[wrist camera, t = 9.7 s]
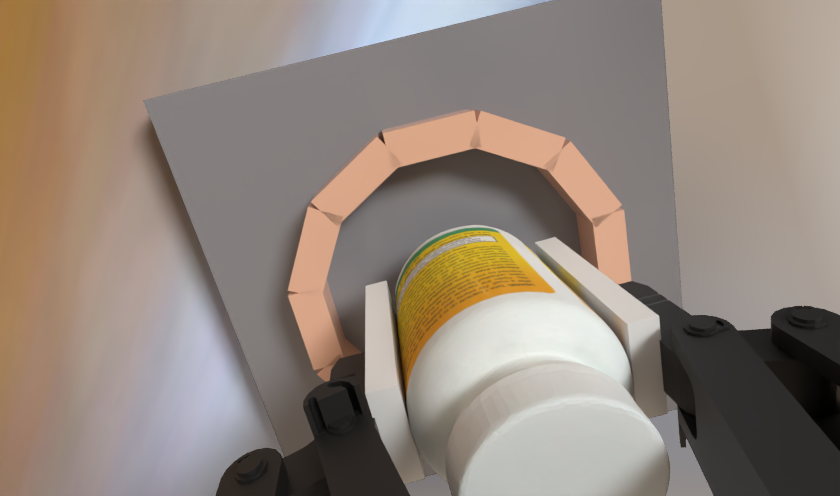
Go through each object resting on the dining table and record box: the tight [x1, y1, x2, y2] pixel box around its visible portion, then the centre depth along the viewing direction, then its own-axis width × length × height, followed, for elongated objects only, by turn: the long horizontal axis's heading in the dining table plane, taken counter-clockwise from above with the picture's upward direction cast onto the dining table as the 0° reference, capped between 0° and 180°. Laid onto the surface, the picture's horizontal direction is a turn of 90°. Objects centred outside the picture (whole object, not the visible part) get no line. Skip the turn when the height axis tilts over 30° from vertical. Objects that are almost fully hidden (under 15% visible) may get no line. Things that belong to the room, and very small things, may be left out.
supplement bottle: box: [395, 225, 670, 496], centre depth 13 cm, size 5×5×10 cm
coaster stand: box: [143, 0, 682, 477], centre depth 19 cm, size 18×18×3 cm
